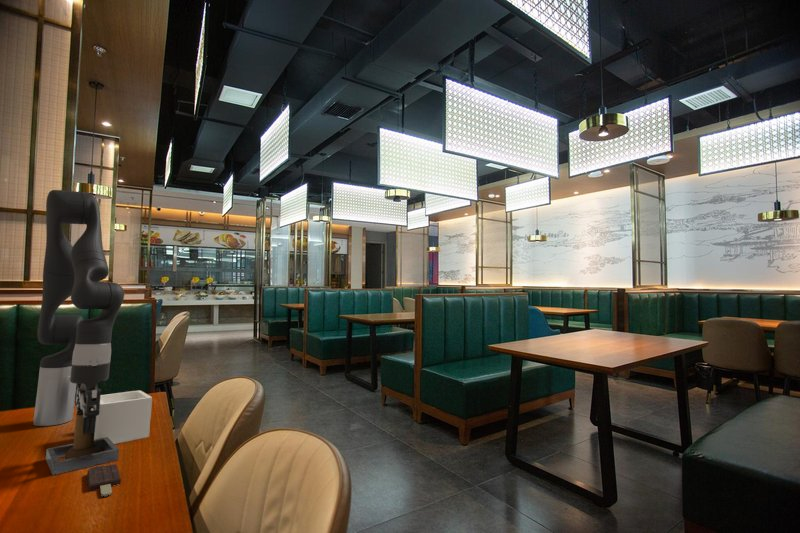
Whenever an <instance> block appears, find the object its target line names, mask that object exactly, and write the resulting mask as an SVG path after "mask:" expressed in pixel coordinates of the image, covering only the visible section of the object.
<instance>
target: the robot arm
mask: <svg viewBox="0 0 800 533" xmlns="http://www.w3.org/2000/svg"><path fill="white" fill-rule="evenodd" d="M45 204H46V205H45V221H46V222H45V223H46V225H45V226H46V228H45V230H46V232H45V233H46V236H45V237H46V240H45V241H46V243H45V252H44V253H45V254H44V259H43V260H44V261H43V268H42V269H43V271H42V296H41V298H42V300H41V305H40V306H41V307H40V313H39V318H38V323H37V324H38V325H37V340H38V342H39V343H40V344H41V345H67V347H66V348H63V350H61V351H59V352H56V353H52V354H49V355H47V356H43V357H42V358H41V359H40V361H39V362H40V363H39V373H38V381H37V391H36V397H35V407H34V413H33V414H34V416H33V424H32V425H33V426H36V427H49V426H56V425H57V426H58V425H61V424H65V423H69V422H71V421H72V420H73V418H74V409H75V410H76V414H77V413H80V412H83V427H82V433H83V434H90V433H93V432H94V428H95V419H96V417H95V416H97V415H99V413H100V411H99V408H100V396H101V395H102V390H101V388H98V387H99V386H98V383H100V382H105V381H107V380H109V378H110V368H111V356H112V343H111V342H112V338H113V337H112V335H113V328H114V324H115V321H116V319H117V315H118V313H119V311H120V308H121V307H122V304H123V302H124V298H125V291H124V289H123V287H122V286H121V284H119V283H118V282H110V281H103V280H105V279H106V278H107V277H108V276H109V273H110V270H109V266H108V263H107V259H106V255H105V252H104V247H103V234H102V223H101V222H102V220H101V213H100V205H99V202H98V200H97V197H96V196H95V195H94V194H93V193H89V192H82V191H74V190H73V191H72V190H71V191H70V190H64V189H63V190H62V189H52V190H50V191H49V192H48V194H47V197H46V203H45ZM63 224H66V225H68V224H69V225H70V224H71V225H86V228H85V230H84V232H83V233H82V234H81V236H80V237H79V238H78V239H77V240H76V241H75V243H73V245H72V243H71V242H70V241H69V239H68V238H67V236H66V235H65V233H64V231H63ZM68 298H70V300H71V303H72V305H74V307H76V308H78V309H79V310H101V311H100V313H99V314H98V315H96V316H95V317H91V318H87V319H84V317H83V316H82V315H80V314H55V313H56V312H57V311H58V308H60V306H61V305H62V304H63V303H64V302H65V301H66V300H67V299H68ZM83 387H84V390H83V391H81V390H82V388H83ZM90 408H93V409H94V411H89V409H90Z"/></svg>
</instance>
